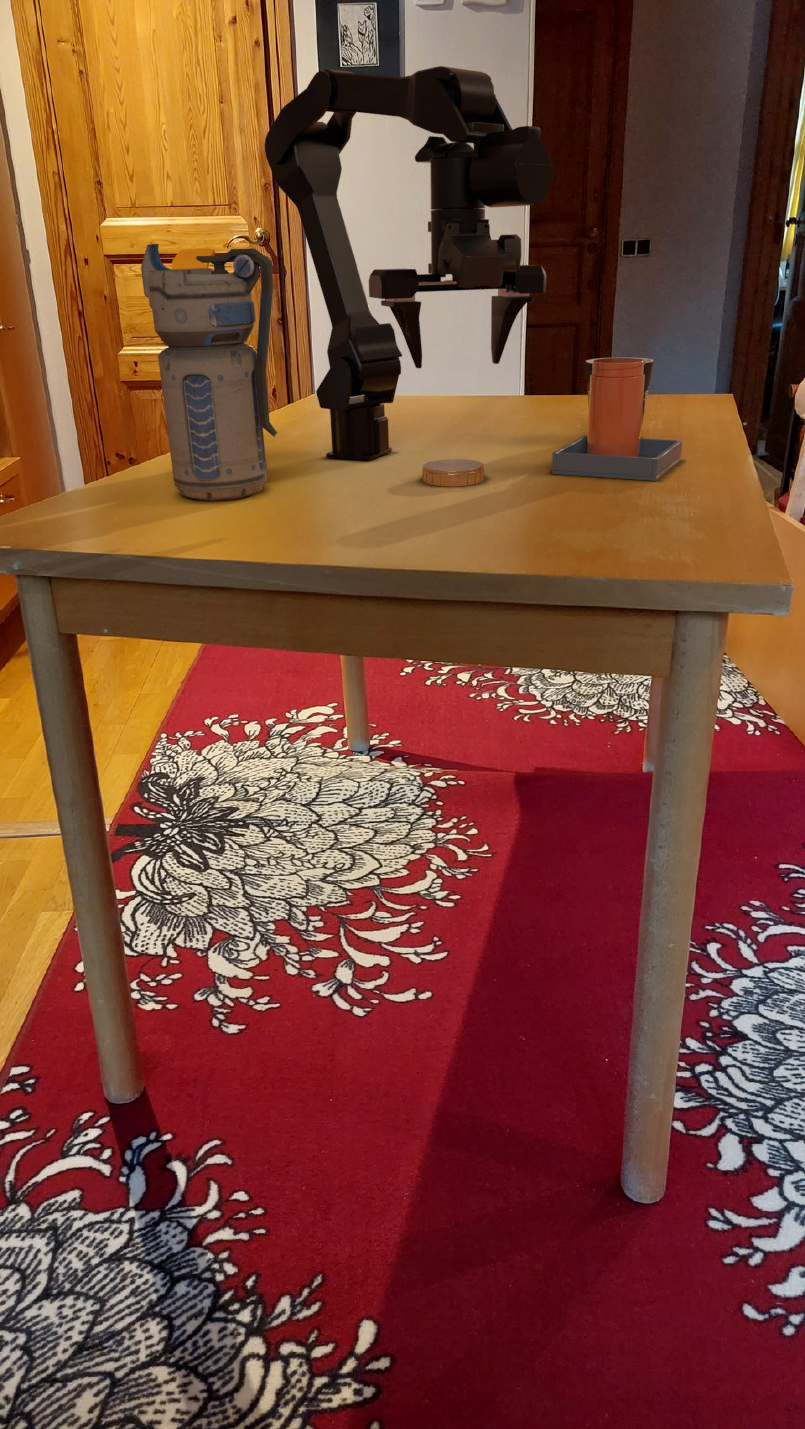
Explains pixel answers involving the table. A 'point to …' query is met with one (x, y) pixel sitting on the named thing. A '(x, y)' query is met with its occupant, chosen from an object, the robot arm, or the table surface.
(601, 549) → the table surface
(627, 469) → the tray
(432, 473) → the lid
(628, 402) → the jar
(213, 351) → the fragmentation grenade prop
